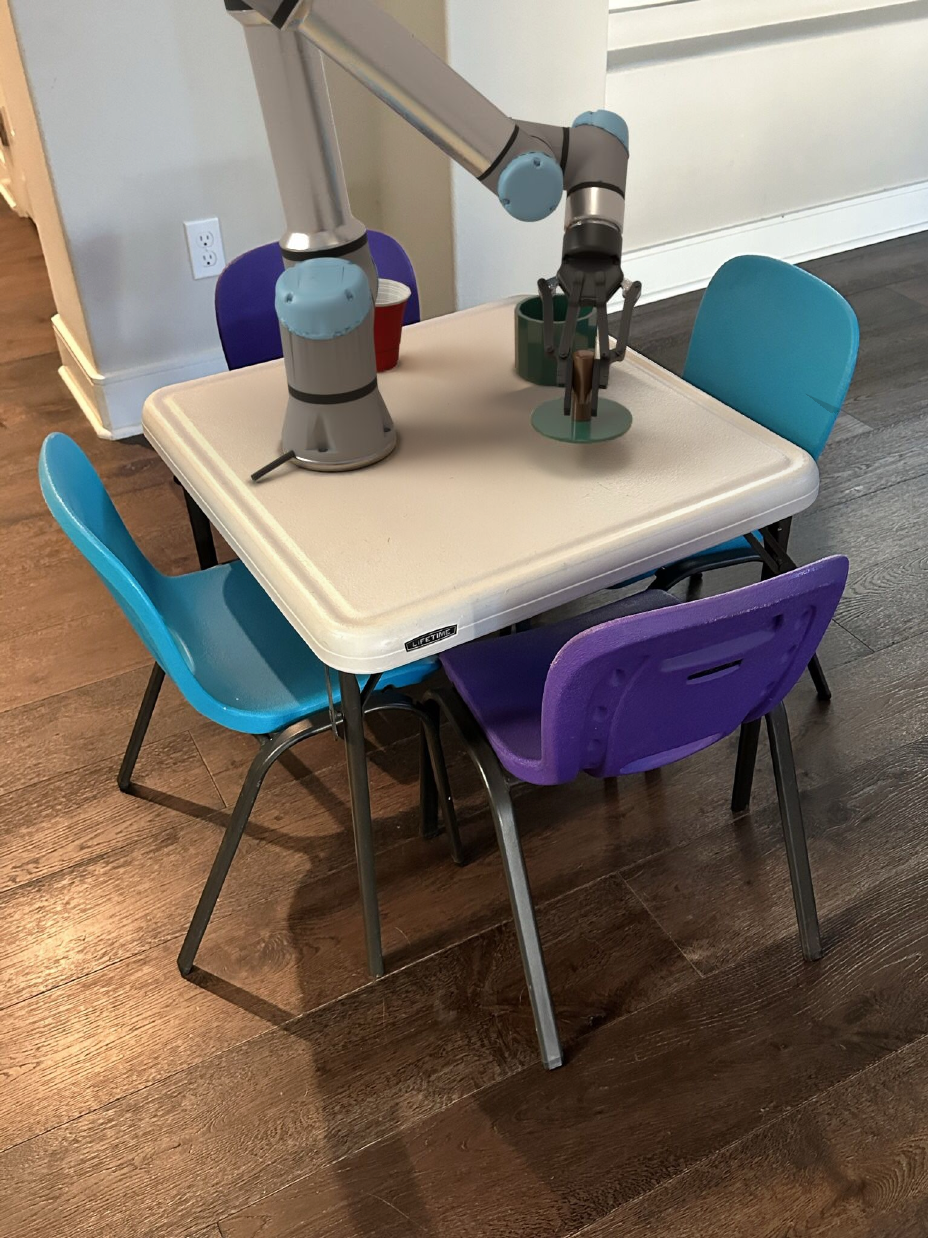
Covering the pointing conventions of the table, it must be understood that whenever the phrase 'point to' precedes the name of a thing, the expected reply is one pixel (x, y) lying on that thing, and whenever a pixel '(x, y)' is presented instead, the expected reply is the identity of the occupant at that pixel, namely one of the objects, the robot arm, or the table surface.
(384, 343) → the plastic cup
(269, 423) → the table surface
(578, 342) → the pot
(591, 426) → the lid
